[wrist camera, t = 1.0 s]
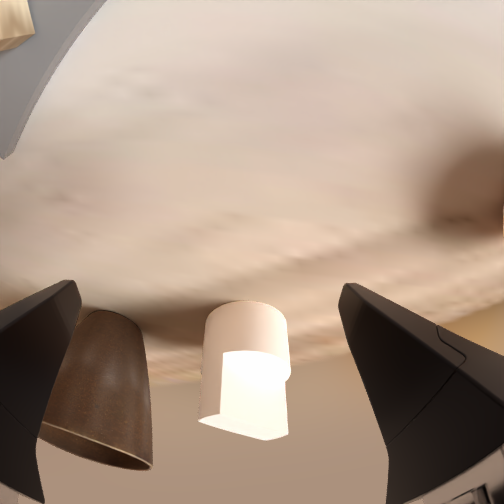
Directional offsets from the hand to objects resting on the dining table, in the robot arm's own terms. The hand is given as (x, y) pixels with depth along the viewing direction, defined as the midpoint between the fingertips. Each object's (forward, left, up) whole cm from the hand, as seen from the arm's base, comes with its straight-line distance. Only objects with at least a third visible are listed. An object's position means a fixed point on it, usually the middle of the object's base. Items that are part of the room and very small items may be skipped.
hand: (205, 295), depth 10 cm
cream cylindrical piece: (+13, +16, -15) cm, 25 cm away
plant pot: (+26, +6, -15) cm, 31 cm away
